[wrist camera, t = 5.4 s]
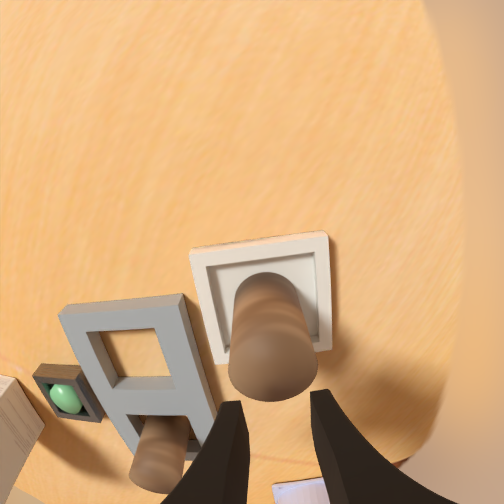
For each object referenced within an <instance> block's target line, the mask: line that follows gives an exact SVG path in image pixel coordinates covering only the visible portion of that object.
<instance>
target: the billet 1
mask: <svg viewBox="0 0 504 504" xmlns="http://www.w3.org/2000/svg"><path fill="white" fill-rule="evenodd" d="M190 427H191V424H190V421H189V420H188V418H187V417H186V416H185V415H147V418H146V421H145V424H144V427H143V430H142V434H141V437H140V440H139V443H138V446H137V450H136V453H135V456H134V459H133V463H132V466H131V469H130V473H129V478H130V479H131V481H132V482H133V483H135V484H136V485H137V486H139V487H141V488H143V489H145V490H148V491H151V492H155V493H160V494H169V493H170V492H171V491H172V490H173V489H174V488H175V486H176V485H177V484H178V483H179V481H180V480H181V479H182V474H183V468H184V462H185V456H186V450H187V444H188V439H189V433H190Z"/></svg>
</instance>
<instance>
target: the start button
mask: <svg viewBox="0 0 504 504" xmlns="http://www.w3.org/2000/svg"><path fill="white" fill-rule="evenodd" d="M50 397H51V399H52V400H53V402H54V403H55V404H56V405H57V406H58V407H59V408H60V409H62V410H64V411H65V412H68V413H71V414H77V413H79V411H80V409H81V407H82V406H83V404H82V402H81V401H80V399H79V397H78V395H77V394H76V392H75V390H74V388H73V387H72V386H69V385H58V384H54V386H53V387H52V389H51V390H50Z"/></svg>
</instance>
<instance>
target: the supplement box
mask: <svg viewBox="0 0 504 504" xmlns="http://www.w3.org/2000/svg"><path fill="white" fill-rule="evenodd" d="M44 427H45V424H44V423H43V421H42V420H41V418H40V417H39V416H38V414H37V413H36V411H35V409H34V408H33V406H32V405H31V403H30V402H29V400H28V398H27V397H26V395H25V393H24V392H23V390H22V388H21V387H20V385H19V383H18V381H17V380H16V378H13V377H9V376H4V375H0V504H5V502H6V500H7V498H8V496H9V494H10V491H11V489H12V487H13V485H14V483H15V481H16V479H17V477H18V475H19V473H20V471H21V469H22V467H23V465H24V463H25V462H26V460H27V458H28V456H29V454H30V452H31V450H32V448H33V446H34V445H35V443H36V441H37V439H38V437H39V435H40V434H41V432H42V430H43V428H44Z"/></svg>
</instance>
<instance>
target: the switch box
mask: <svg viewBox="0 0 504 504" xmlns="http://www.w3.org/2000/svg"><path fill="white" fill-rule="evenodd" d="M32 376H33V378H34V380H35V382H36V383H37V385H38V387H39V388H40V390H41V392H42V393H43V395H44V397H45V398H46V400H47V401H48V403H49V404H50V406H51V408H52V409H53V411H54V412H55V414H56V415H57V417H61V418H67V419H73V420H81V421H88V422H97V423H101V421H102V419H103V416H104V414H105V410H104V408H103V407H102V405H101V403H100V402H99V400H98V398H97V396H96V394H95V393H94V391H93V389H92V387H91V385H90V383H89V382H88V380H87V378H86V376H85V374H84V372H83V370H82V368H81V366H78V365H55V364H41V365H40V366H39V367H38V369H37V370H36V371H35V372H34V374H33V375H32ZM54 384H58V385H69V386H72V387H73V388H74V390H75V392H76V394H77V395H78V397H79V399H80V401H81V402H82V404H83V406H82V407H81V409H80V411H79V413H77V414H71V413H68V412H65V411H64V410H62V409H60V408H59V407H58V406H57V405H56V404H55V403H54V402H53V400H52V399H51V397H50V390H51V389H52V387H53V386H54Z"/></svg>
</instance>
